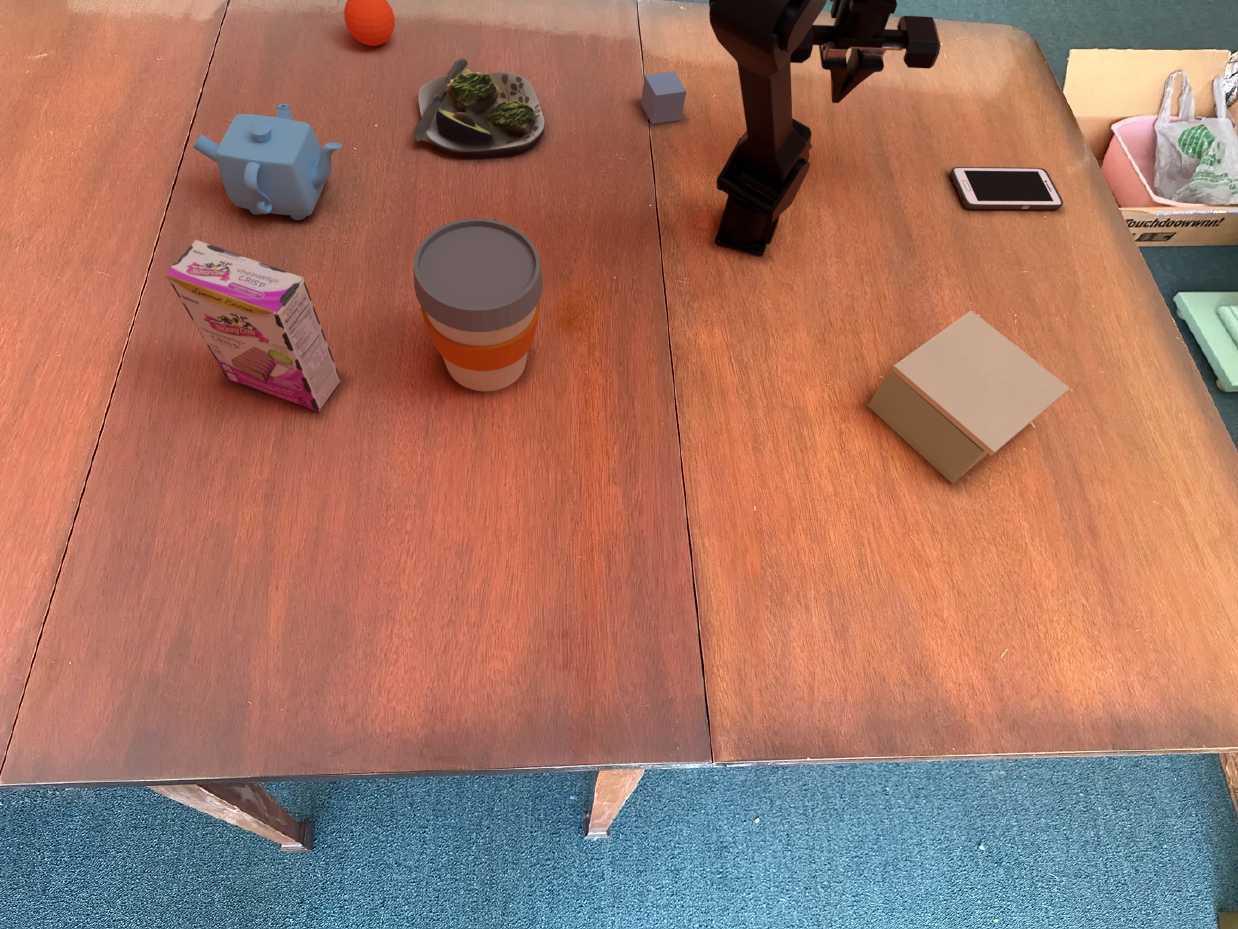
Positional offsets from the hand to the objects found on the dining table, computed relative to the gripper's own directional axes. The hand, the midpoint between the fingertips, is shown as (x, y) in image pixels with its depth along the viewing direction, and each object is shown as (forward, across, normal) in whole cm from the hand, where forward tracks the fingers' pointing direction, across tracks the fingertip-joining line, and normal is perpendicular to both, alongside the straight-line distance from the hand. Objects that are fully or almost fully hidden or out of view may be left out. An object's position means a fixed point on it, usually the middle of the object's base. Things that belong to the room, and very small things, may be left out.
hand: (834, 100), depth 98 cm
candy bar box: (+4, +62, +42) cm, 75 cm away
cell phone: (+13, -28, +1) cm, 31 cm away
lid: (+2, -12, +40) cm, 42 cm away
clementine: (+9, +64, -20) cm, 68 cm away
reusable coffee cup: (+6, +41, +37) cm, 56 cm away
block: (+11, +21, -10) cm, 26 cm away
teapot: (+6, +68, +13) cm, 70 cm away
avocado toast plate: (+9, +46, -4) cm, 47 cm away
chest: (+9, -12, +40) cm, 43 cm away
